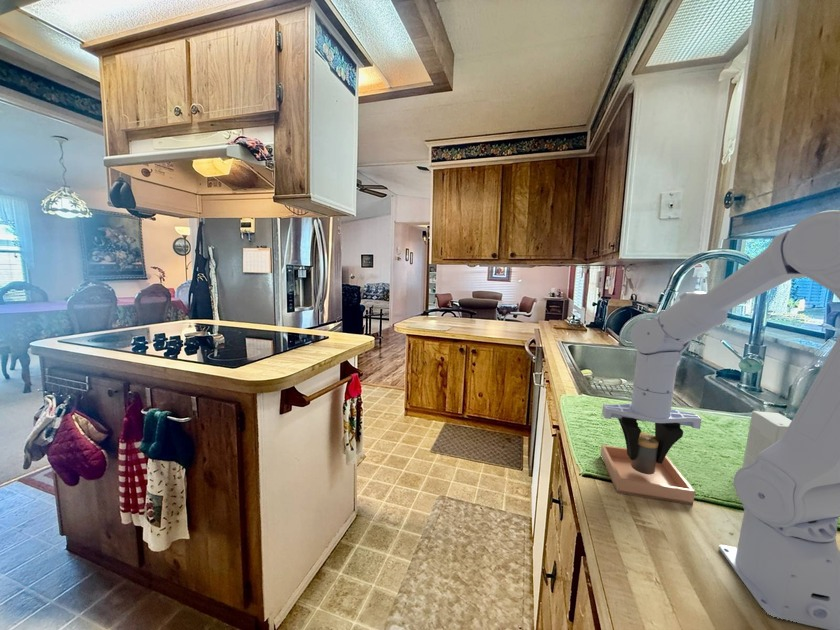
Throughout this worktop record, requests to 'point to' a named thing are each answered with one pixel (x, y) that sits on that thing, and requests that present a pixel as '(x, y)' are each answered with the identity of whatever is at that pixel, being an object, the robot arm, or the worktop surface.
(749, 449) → the skincare box
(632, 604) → the worktop surface
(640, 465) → the cell
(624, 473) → the dish
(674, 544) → the worktop surface
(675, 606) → the worktop surface
